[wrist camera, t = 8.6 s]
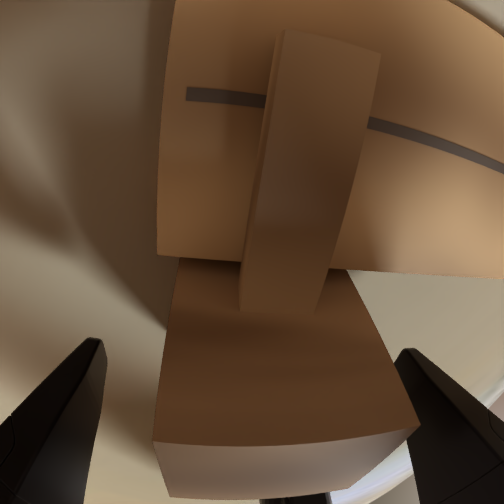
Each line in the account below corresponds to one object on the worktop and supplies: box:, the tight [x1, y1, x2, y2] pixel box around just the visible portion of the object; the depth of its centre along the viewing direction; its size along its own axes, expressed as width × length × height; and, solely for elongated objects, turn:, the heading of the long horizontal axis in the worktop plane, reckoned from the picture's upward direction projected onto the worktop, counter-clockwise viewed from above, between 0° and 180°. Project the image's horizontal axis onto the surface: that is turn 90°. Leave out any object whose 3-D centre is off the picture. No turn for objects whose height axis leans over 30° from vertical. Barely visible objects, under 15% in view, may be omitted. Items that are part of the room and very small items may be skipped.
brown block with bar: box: [152, 29, 421, 500], centre depth 7 cm, size 10×5×6 cm, turn 172°
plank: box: [157, 0, 504, 279], centre depth 8 cm, size 8×20×1 cm, turn 82°
